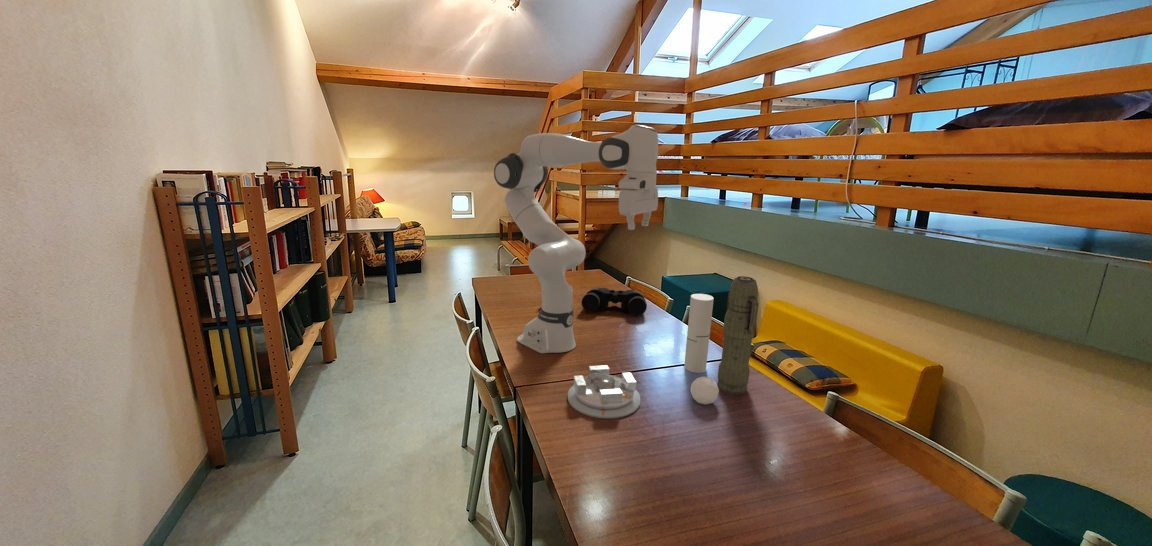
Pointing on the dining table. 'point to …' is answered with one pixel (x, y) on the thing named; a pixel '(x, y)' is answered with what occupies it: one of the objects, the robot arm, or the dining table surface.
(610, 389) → the tabbed round base
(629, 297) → the binoculars
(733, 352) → the thermos
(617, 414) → the cap plate
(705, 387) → the geometric ball
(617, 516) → the dining table surface
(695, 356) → the cylindrical container
